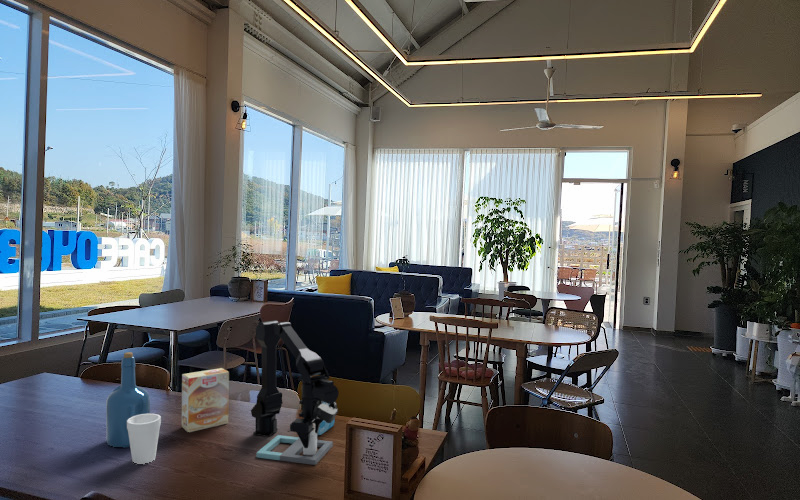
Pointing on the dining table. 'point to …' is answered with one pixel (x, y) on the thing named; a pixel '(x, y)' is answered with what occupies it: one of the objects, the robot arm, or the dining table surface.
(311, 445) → the white salt shaker
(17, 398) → the dining table surface
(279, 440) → the panel
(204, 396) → the coffeecake box
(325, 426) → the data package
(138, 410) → the wine bottle
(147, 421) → the foam cup
